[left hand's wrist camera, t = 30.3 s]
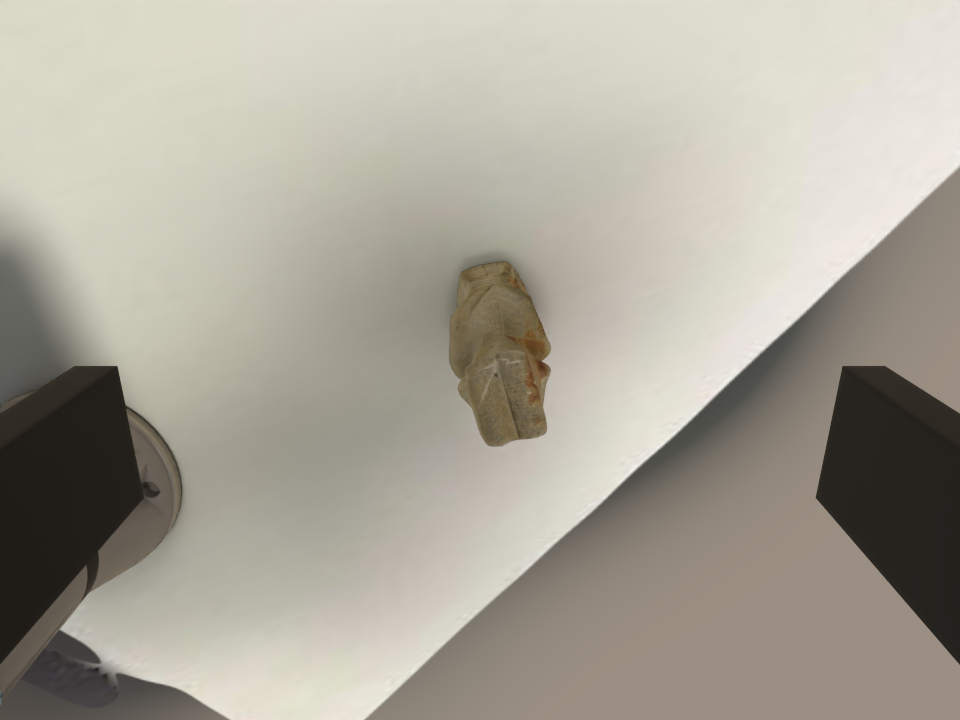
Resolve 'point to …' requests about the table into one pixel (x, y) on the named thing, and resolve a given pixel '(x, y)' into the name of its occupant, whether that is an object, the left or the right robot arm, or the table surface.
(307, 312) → the table surface
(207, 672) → the table surface
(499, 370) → the sculpture
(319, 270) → the table surface
